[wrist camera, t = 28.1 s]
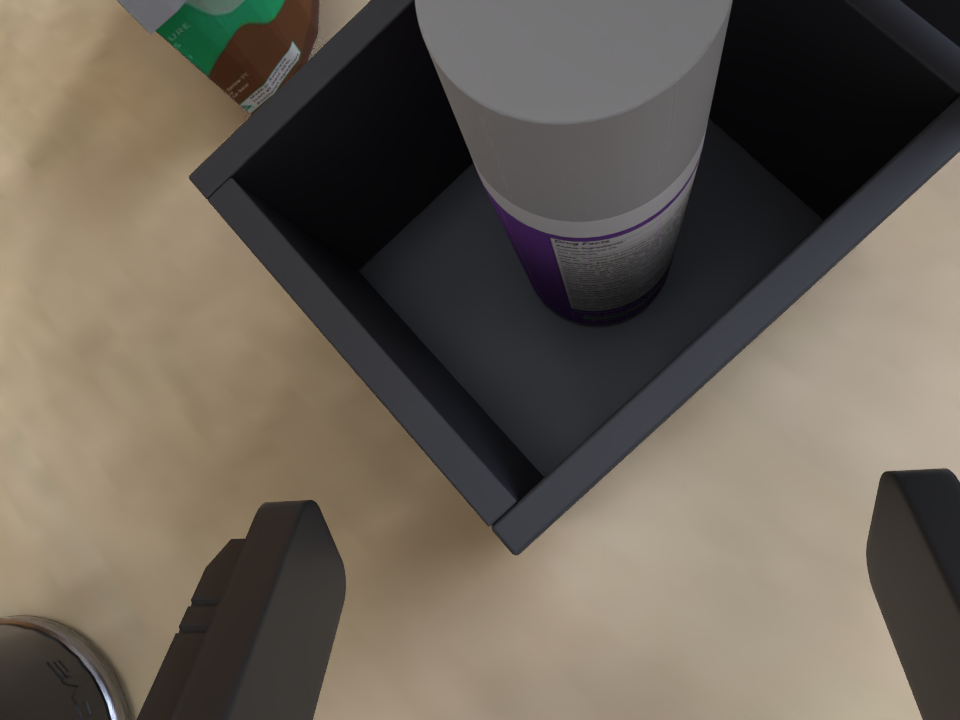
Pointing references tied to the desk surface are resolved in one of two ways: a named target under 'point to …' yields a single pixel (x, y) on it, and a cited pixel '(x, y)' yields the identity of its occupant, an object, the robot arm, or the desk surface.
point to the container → (583, 133)
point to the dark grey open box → (499, 273)
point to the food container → (236, 40)
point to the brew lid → (939, 15)
